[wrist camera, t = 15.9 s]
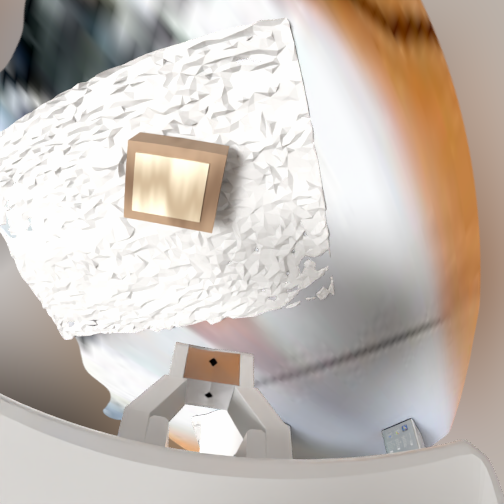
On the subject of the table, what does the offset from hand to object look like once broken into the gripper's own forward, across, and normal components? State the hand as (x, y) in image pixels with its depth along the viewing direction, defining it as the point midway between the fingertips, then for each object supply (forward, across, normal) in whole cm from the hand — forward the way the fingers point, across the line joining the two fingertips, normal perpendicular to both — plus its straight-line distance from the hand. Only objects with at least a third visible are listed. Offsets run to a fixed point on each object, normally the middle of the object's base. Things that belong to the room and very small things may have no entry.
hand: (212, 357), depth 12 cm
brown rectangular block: (+18, -1, 0) cm, 18 cm away
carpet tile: (+22, -10, -6) cm, 24 cm away
